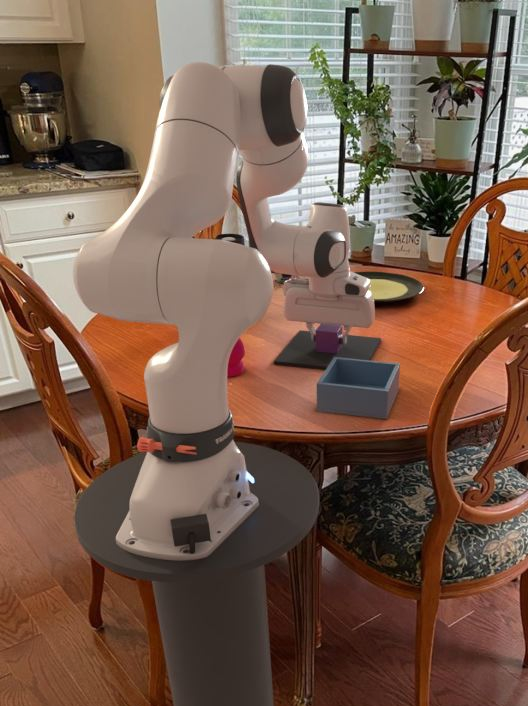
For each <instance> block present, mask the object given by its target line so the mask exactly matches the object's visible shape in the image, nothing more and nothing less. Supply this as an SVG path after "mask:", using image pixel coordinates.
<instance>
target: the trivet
mask: <svg viewBox="0 0 528 706" xmlns="http://www.w3.org/2000/svg"><path fill="white" fill-rule="evenodd" d="M381 341H382V338H381V337H373V336H365V335H364V336H363V335H353V334H348V335H347V343H346V344H342V347H341V349H340V350H339V352H338V353H337V354H334V353H324V352H316V341H312V337H311V333H310V332H309V330H298V332H297V333H296V334H295V335H294V336H293V338H291V340H290V341H289V342H288V344H287V345H286V346H285V347H284V348H283V349H282V351H281V352H280V353H279V354H278V355H277V357H275V359H274V360H273V365H275V366H276V365H277V366H286V367H295V368H296V367H297V368H305V369H316V370H324V371H325V370H326V369H327V367H328V366H329V364H330V363H331V361H332V360H333V358H334V357H340V358H349V359H359V360H369V361H372V358H373V356H374V354H375V352H376V351H377V349H378V347H379V345H380V344H381Z"/></svg>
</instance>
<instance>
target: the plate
mask: <svg viewBox="0 0 528 706" xmlns="http://www.w3.org/2000/svg"><path fill="white" fill-rule="evenodd" d="M353 272H354V273H356V274H358V275H361V276H363V277H366V278H368V279H369V280H370V282H371V284H370V289H369V290H368V291H370V292H371V293H372V295H373V298H374V304H387V303H396V302H402V301H406V300H409V299H413V298H415V297H418V296H419V295H421V294H422V293H423V292H424V290H425V285H424V284H423V283H422V282H421V281H420V280H419V279H416V278H414V277H412V276H408V275H405V274H401V273H394V272H385V271H373V270H372V271H370V270H369V271H367V270H366V271H353Z"/></svg>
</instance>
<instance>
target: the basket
mask: <svg viewBox="0 0 528 706" xmlns="http://www.w3.org/2000/svg"><path fill="white" fill-rule="evenodd" d="M400 373H401V363H400V362H399V363H397V362H387V361H379V360H370V361H369V360H359V359H349V358H340V357H334V358H333V360H332V361H331V363H330V364H329V366H328V367H327V369H326V370H324V372H323V373H322V375H321V376H320V378H319V379H318V380H317V382H316V411H317V412H321V413H329V414H338V415H345V416H346V415H347V416H355V417H363V418H371V419H372V418H373V419H379V420H380V419H382V420H387V419H388V417H389V415H390V412H391V409H392V407H393V404H394V403H395V399H396V398H397V396H398V393H399V391H400Z"/></svg>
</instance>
